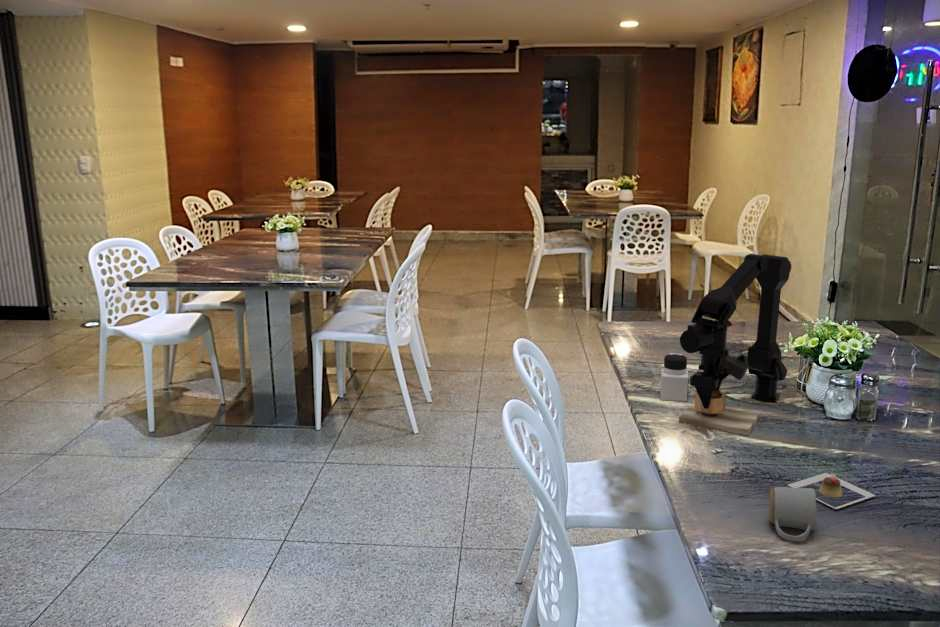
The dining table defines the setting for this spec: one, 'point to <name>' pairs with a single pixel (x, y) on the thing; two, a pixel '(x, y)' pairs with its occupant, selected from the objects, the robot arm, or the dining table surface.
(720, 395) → the ring
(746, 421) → the piston stand
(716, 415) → the piston
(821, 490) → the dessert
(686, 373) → the medicine bottle
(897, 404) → the dining table surface
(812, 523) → the ceramic mug
